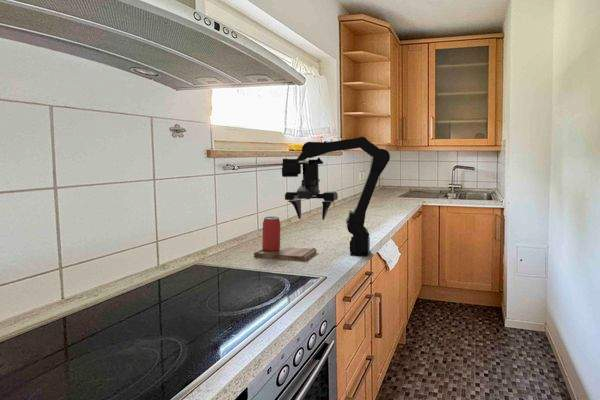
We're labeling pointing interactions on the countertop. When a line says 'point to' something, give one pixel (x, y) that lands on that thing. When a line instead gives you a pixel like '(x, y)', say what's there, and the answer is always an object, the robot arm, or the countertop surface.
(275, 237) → the beer can
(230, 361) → the countertop surface
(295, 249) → the walnut board
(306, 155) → the robot arm
